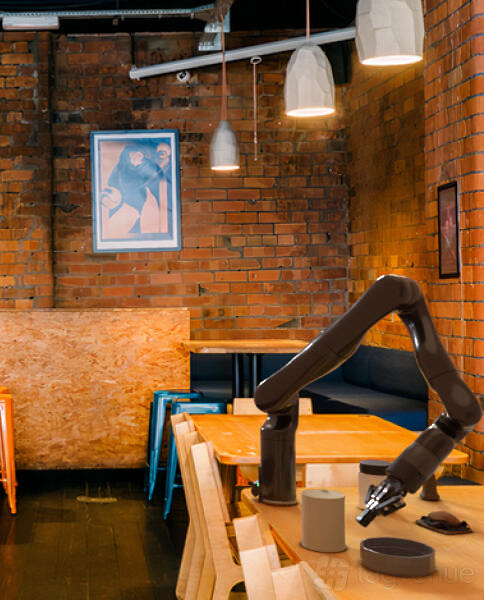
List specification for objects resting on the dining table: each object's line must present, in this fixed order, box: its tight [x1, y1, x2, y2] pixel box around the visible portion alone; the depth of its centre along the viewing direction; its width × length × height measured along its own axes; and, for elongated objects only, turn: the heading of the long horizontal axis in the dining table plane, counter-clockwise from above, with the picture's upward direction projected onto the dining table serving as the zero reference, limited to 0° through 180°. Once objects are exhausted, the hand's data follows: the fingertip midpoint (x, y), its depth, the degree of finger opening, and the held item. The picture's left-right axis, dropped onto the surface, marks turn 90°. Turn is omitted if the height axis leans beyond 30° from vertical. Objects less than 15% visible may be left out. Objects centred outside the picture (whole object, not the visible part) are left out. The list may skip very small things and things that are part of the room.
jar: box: [357, 459, 393, 511], centre depth 207 cm, size 9×8×12 cm
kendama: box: [419, 425, 441, 501], centre depth 217 cm, size 6×10×20 cm, turn 165°
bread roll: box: [415, 510, 473, 535], centre depth 189 cm, size 11×8×4 cm
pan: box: [359, 536, 437, 578], centre depth 161 cm, size 14×14×4 cm
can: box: [300, 488, 347, 553], centre depth 175 cm, size 9×9×12 cm
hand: (360, 524), depth 176 cm, fingers closed
